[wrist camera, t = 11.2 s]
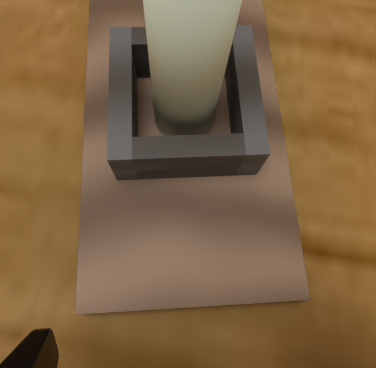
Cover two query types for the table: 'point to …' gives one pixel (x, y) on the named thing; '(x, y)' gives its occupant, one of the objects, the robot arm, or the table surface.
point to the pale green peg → (188, 60)
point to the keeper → (183, 181)
